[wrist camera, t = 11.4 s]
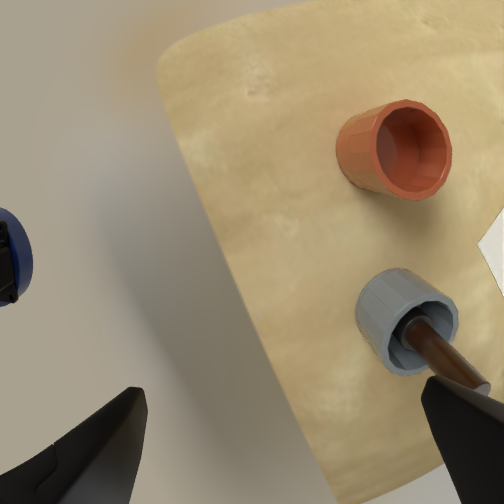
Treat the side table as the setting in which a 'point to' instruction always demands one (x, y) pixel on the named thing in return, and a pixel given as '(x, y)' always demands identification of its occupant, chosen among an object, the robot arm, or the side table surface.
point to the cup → (394, 308)
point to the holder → (396, 150)
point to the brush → (437, 351)
